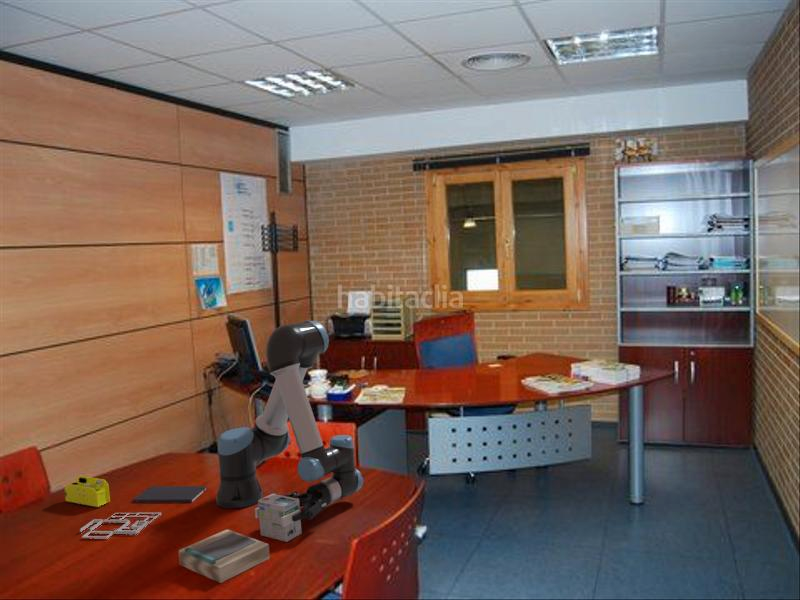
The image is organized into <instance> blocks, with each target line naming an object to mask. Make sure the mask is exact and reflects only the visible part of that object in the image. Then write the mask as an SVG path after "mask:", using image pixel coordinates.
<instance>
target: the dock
mask: <svg viewBox="0 0 800 600" xmlns="http://www.w3.org/2000/svg"><path fill="white" fill-rule="evenodd" d="M270 558H271V557H270V544H269V543H266V542H264V541H261V540H259V539H256V538H253V537H251V536H248V535H245V534H241V533H239V532H236V531H233V530H231V529H225V530H223V531H220V532H218V533H216V534H213V535H211V536H208V537H206V538H204V539H202V540H199V541H197V542H195V543H193V544H191V545H188V546H186V547H183V548H181V549H179V550H178V561H179V566H182V567H184V568H186V569H188V570H190V571H192V572H194V573H195V572H196V573H197V574H199V575H202V576H203V577H206V578H208V579H211V580H213V581H215V582H218V583H220V584H222V583H224V582H226V581H228V580H229V579H232V578H234V577H236V576H237V575H239V574H242V573H244V572H246V571H247V570H249V569H251V568H253V567H256V566H258V565H259V564H262V563H264V562H265V561H267V560H270Z"/></svg>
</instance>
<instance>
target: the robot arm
mask: <svg viewBox="0 0 800 600" xmlns="http://www.w3.org/2000/svg"><path fill="white" fill-rule="evenodd" d="M329 340H330V339H329V335H328V333H327V330H326V328H325V327H324V326H323V324H321V322H318V321H316V320H304V321H302V322H301V321H300V322H296V323H295V322H294V323H290V324H284V325H280V326H278V327H277V328H276V329H274V330H273V331H272V332H271V334H270V335H269V337H268V340H267V343H266V348H265V349H266V350H265V354H266V355H265V356H266V357H265V358H266V363H267V366H268V370H269V373H270V376H272V377H274V378H275V381H274V384H273V386H272V389H271V391H270V394H269V397H268V399H267V402H266V405H265V407H264V410H263V413H262V414H260V415H258V416H257V417H256V420H255V422H254V424H253V426H252V428H250V427H244V426H243V427H242V426H241V427H237V428H232V429H229V430H226V431H224V432H223V433H221V434H220V435H219V437H218V440H217V453H218V454H217V455H218V465H219V479H220V481H219V484H218V488H217V494H216V496H215V499H216V505H217V506H218V507H220V508H222V509H229V510H231V509H232V510H233V509H242V508H246V507H250V506H254V505H256V504H258V500H260V499H262V498H264V496H263V489H262V488H261V484H260V482H259V479H258V477H257V474H256V468H255V464H256V463H259V462H261V461H264V460H266V461H267V460H268V459H271V458H274V457H277V456H279V455H280V454H282V453H283V452H285V450H286V449H287V448H288V446H289V444H290V441H291V435H290V430H289V425H288V423H287V422H288V420H289V423H290V426H291V429H292V433H293V435H294V438H295V441H296V444H297V447H298V450H299V453H300V457H301V459H300V460H299V461H298V463H297V474H298V476H300V478H301V479H302V480H303V481H305V482H310V483H311V482H315V481H318V480H321V479H322V478H324V477H325V476H327V475H329V474H332V475H331V476H329V477H327V478H325V479H323V480H321V481H319V482H316V483H314V484H311V485H310V486H308V487H307V490H306V491H305V492H301V493H299V491H296V490H295V491H293V492H290V493H286V494H282V496H287V497H292V498H298V499H299V504H300V510H296V511H294V512H292V513H290V514H288V515H285V516H283V517H281V520H282V527H285V526H287V525H289V524H291V523H294V522H296V521H298V520H300V519H301V520H306V519H307V521H308V520H309V521H311V520H313V518H315V517H316V516H317V515H318V514H319V513H320V512H321V511H323V510H325V509H327V506H328V505H332V504H333V503H335V502H337V501H339V500H342V499H343V498H346V497H348V496H352V495H353V494H354V493H357V492H358V491H359V490H360V489H362V487H363V484H364V478H363V476H362V473H361V472H360V471H359V470H358V469H357V468H356V465H355V464H356V462H355V459H356V458H355V446H354V438H353V437H352V436H351V435H347V434H338V435H334V436H332V437H331V438H330V439H329V446H328V447H326V448H325V445H324V443H323V440H322V437H321V434H320V431H319V429H318V425H317V422H316V418H315V416H314V412H313V409H312V406H311V403H310V400H309V397H308V395H307V392H306V388H305V385H304V382H303V381H304V378H305V375H306V374H307V371H308V369H311V368H312V367H314V365H315V363H316V360H317V359H318V356H319V355H322V354H324V353H325V352H326V351H327V349H328V347H329V342H330V341H329ZM254 514H255V517H254V518H255V519H259V506H258V507H256V508H255V509H254Z"/></svg>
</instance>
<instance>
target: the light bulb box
mask: <svg viewBox="0 0 800 600" xmlns="http://www.w3.org/2000/svg"><path fill="white" fill-rule="evenodd" d="M282 495H283V494H282ZM282 495H281V494H278V493H277V494H276V493H270V495H267V496H263V498H262V499H260V500H258V503H257V504H258V507H259V518H258V519H259V531H260V536H263V537H266V538H270V539H273V540H278V541H282V542H286V543H287V542H289V541H291V540H293V539H294V538H297V537H298V536H300V535H301V534H302V521H301V520H302V519H300V520H298V521H296V522H294V523H291V524H289V525H287V526H285V527H282V520H281V517H283V516H285V515H288V514H290V513H292V512H294V511H296V510H300V511H301V507H300V504H299V499H298V498H292V497H287V496H282Z"/></svg>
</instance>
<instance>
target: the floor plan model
mask: <svg viewBox="0 0 800 600" xmlns="http://www.w3.org/2000/svg"><path fill="white" fill-rule="evenodd" d="M119 513H120V514H126V515H115V514H119ZM129 514H136V515H129ZM139 514H152V515H139ZM155 514H158V515H155ZM113 515H115V516H113ZM127 515H129V516H127ZM137 515H139V516H137ZM159 515H160V516H162V512H115V513H113V514H112V515H111V516H110V517H112V518H115V517H122V518H119V519H110V520H108V519H109V518H110V517H108V518H107V519H102V518H100V519H96V518H95V519H92V520H91V521H90V522H88V523H87V524H85V525H84V526H83V527H82V526H81V528H79V533H80V532H82V531H83V530H85V529H86V528H88V527H89V526H90V525H92V524H93V523H97V524H94V525H93V526H91V527H90V528H88V529H89V531H87V532H86V533H85V534H83V535H82V536H81V539H82V538H90V539H92V538H94V539H108V538H109V537H110V536H112V535H113V534H126V535H125V536H137V535H138V534H140V533H141V532H142V531H143V530H144V529H145V528H146V526H147V525H148V524H150V523H151V522H152V521H153V520H154V519H156V518H157V517H158V516H159ZM160 516H159V517H160ZM125 517H147V518H144V520H140V521H139V520H136V521H135V522H134V523H133V524H131V521H130V520H129V519H126V518H125ZM159 517H158V518H159ZM124 518H125V519H124ZM149 518H153V519H149ZM158 518H157V519H158ZM122 519H124V520H122ZM148 519H149V520H150V521H149V520H148ZM157 519H156V520H157ZM146 520H148V521H146ZM154 521H155V520H154ZM154 521H153V522H154ZM104 522H109V523H111V522H113V523H125V524H122V525H121V526H120V527H119V528H116V529H115V530H114V529H113V530H114V531H113V530H109V531H108V530H104V531H103V530H94V529H95V528H97V527H98V526H99V525H101V524H102V523H103V524H104ZM153 522H152V523H153ZM152 523H151V524H152ZM129 524H130V525H129ZM138 524H139V525H138ZM151 524H150V525H151ZM128 525H129V526H128ZM137 525H138V526H137ZM101 526H102V525H101ZM126 526H128V527H126ZM148 526H149V525H148ZM148 526H147V527H148ZM144 527H145V528H144ZM143 528H144V529H143ZM97 529H98V528H97ZM122 529H129V530H122ZM131 529H133V530H131ZM136 529H137V530H136ZM142 529H143V530H142ZM92 530H94V531H92ZM141 530H142V531H141ZM140 531H141V532H140ZM90 533H95V534H97V533H99V534H109V535H94V536H93V535H90V536H88V535H89V534H90ZM137 533H138V534H137ZM127 534H129V535H127ZM133 534H135V535H133ZM136 534H137V535H136ZM113 536H114V535H113ZM113 536H112V537H113ZM110 538H111V537H110ZM110 538H109V539H110ZM109 539H108V540H109Z"/></svg>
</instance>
